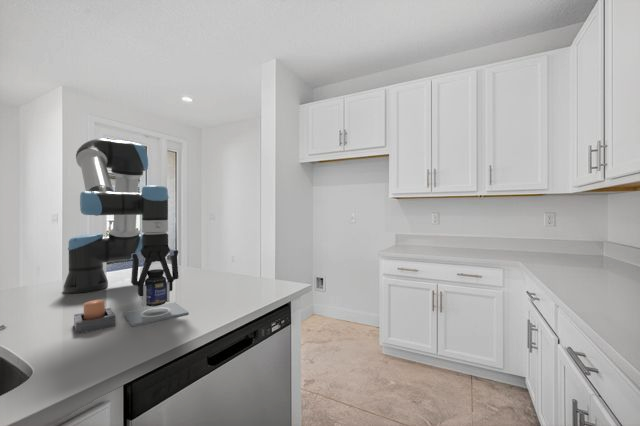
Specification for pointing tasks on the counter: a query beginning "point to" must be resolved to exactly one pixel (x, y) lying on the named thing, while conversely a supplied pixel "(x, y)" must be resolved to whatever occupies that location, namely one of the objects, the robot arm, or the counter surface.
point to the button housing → (94, 321)
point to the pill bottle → (155, 288)
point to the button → (94, 309)
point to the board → (154, 314)
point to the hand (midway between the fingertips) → (155, 303)
